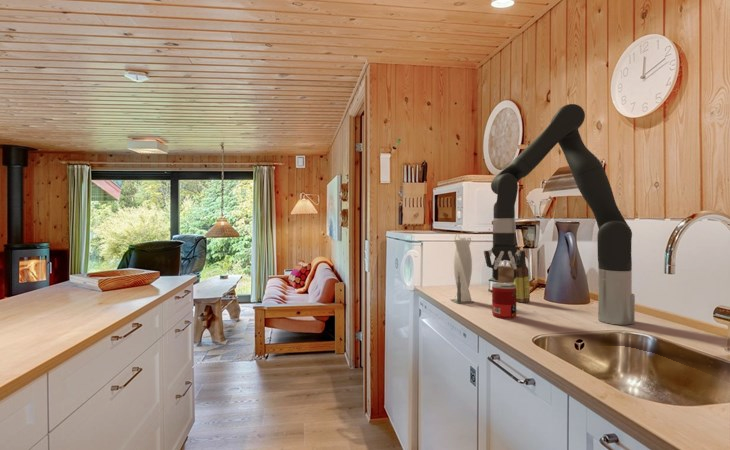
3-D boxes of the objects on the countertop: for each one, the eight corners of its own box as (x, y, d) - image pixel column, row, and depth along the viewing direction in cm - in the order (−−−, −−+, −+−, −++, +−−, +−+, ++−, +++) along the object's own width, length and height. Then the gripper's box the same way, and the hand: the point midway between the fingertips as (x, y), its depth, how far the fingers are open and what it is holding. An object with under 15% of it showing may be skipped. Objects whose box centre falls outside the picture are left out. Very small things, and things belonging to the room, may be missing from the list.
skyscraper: (448, 299, 163) (448, 233, 162) (466, 298, 165) (465, 233, 164) (458, 303, 155) (457, 234, 154) (476, 302, 157) (476, 234, 156)
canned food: (516, 319, 130) (516, 287, 130) (492, 318, 133) (492, 286, 133) (515, 314, 138) (515, 283, 137) (492, 312, 140) (492, 282, 140)
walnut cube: (509, 279, 137) (509, 266, 137) (513, 282, 132) (513, 267, 132) (495, 279, 138) (495, 266, 138) (499, 282, 133) (498, 267, 133)
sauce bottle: (527, 299, 161) (527, 252, 161) (532, 303, 155) (532, 253, 154) (510, 299, 162) (510, 252, 161) (515, 303, 156) (515, 253, 155)
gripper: (521, 230, 138) (521, 278, 138) (480, 231, 139) (480, 278, 139) (528, 231, 130) (529, 281, 131) (485, 232, 131) (486, 281, 132)
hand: (504, 279), depth 135 cm, fingers closed on walnut cube, 5 cm apart
